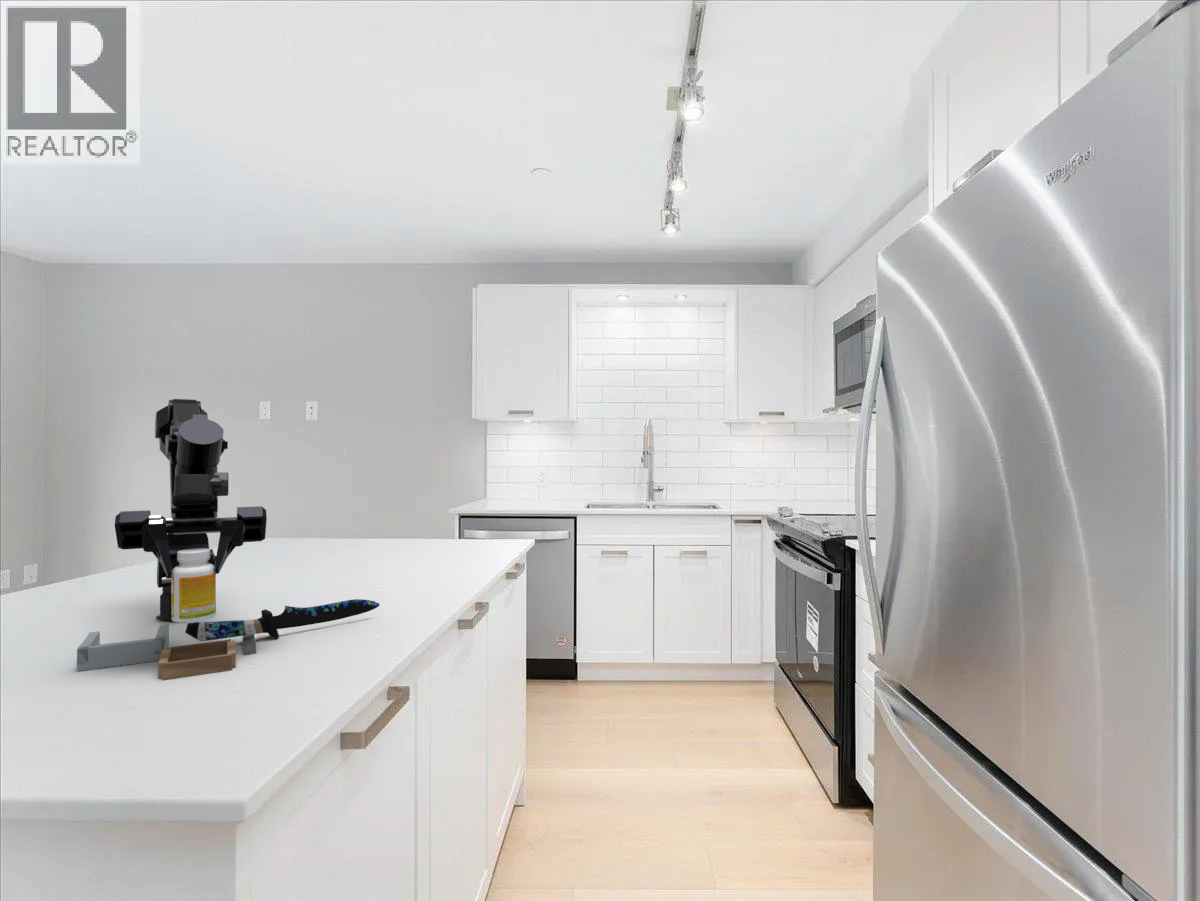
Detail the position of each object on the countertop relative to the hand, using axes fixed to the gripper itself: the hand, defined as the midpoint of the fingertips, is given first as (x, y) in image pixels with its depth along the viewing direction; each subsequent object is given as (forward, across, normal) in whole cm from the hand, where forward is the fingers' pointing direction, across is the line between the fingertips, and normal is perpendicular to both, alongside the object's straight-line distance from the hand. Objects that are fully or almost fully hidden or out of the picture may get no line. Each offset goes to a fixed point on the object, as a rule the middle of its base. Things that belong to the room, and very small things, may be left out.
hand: (193, 573), depth 91 cm
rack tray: (+2, -9, +17) cm, 19 cm away
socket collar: (+9, +1, +9) cm, 13 cm away
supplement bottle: (+4, 0, +6) cm, 7 cm away
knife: (+1, +14, +17) cm, 22 cm away
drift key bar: (+5, +7, +14) cm, 16 cm away
